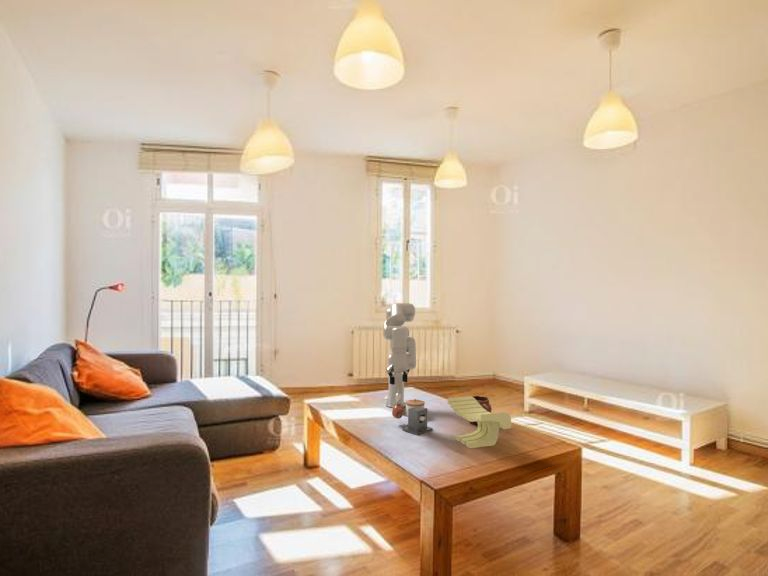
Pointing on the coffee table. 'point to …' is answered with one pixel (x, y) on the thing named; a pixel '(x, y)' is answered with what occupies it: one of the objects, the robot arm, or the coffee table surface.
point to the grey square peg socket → (417, 421)
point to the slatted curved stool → (479, 422)
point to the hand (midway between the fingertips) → (398, 383)
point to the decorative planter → (484, 403)
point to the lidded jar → (414, 404)
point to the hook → (401, 409)
